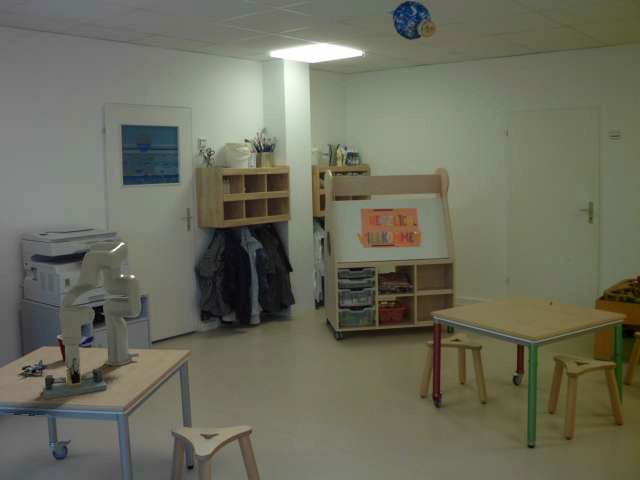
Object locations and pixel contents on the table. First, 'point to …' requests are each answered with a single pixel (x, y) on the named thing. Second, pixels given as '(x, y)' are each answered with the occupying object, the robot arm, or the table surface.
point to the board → (74, 389)
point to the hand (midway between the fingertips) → (74, 379)
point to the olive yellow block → (69, 380)
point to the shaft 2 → (94, 375)
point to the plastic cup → (61, 346)
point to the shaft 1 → (53, 381)
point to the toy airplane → (34, 368)
